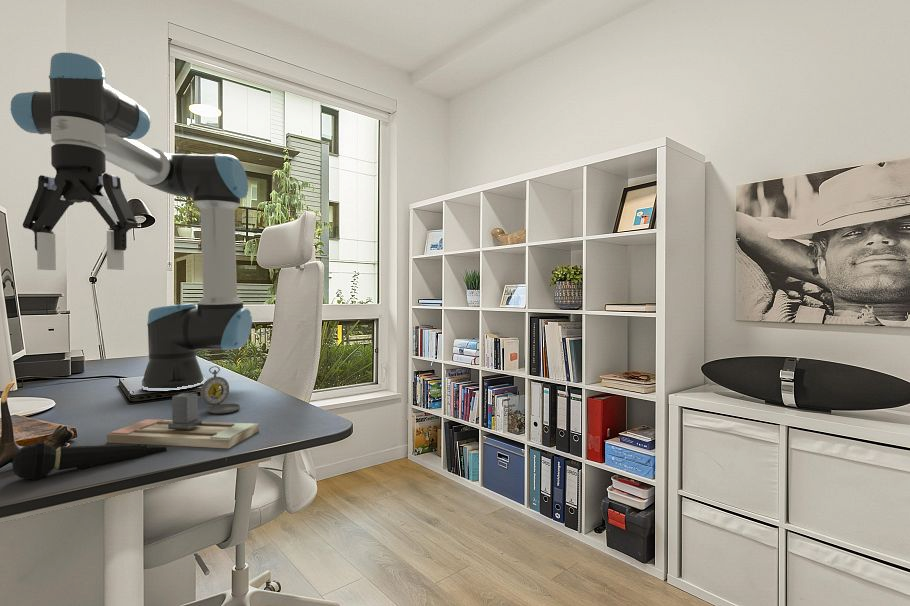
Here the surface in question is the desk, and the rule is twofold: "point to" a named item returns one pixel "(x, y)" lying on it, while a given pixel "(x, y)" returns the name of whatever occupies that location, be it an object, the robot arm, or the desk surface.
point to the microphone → (72, 457)
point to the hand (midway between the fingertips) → (80, 269)
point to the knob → (184, 412)
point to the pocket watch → (217, 394)
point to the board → (184, 434)
